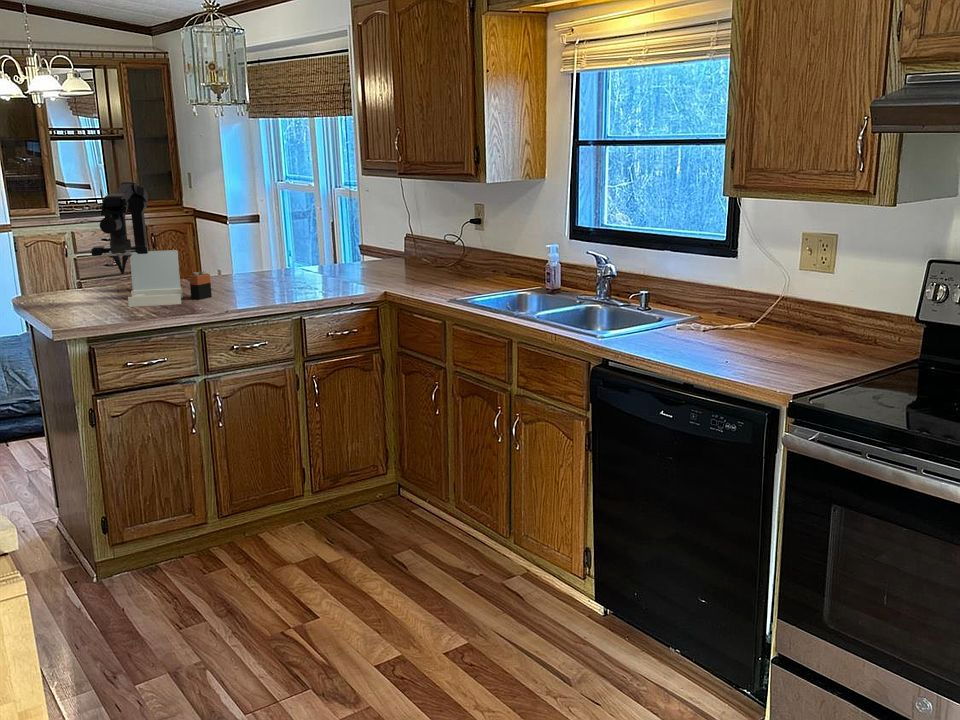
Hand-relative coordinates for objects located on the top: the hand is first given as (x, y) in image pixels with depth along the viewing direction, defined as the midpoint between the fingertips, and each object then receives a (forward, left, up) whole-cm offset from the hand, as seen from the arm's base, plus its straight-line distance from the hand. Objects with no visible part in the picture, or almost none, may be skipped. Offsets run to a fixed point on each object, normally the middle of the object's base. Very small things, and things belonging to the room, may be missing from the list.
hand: (122, 273), depth 314 cm
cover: (-9, +11, 0) cm, 14 cm away
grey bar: (0, +11, -11) cm, 15 cm away
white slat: (-1, +11, -11) cm, 15 cm away
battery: (-4, +27, -11) cm, 29 cm away
